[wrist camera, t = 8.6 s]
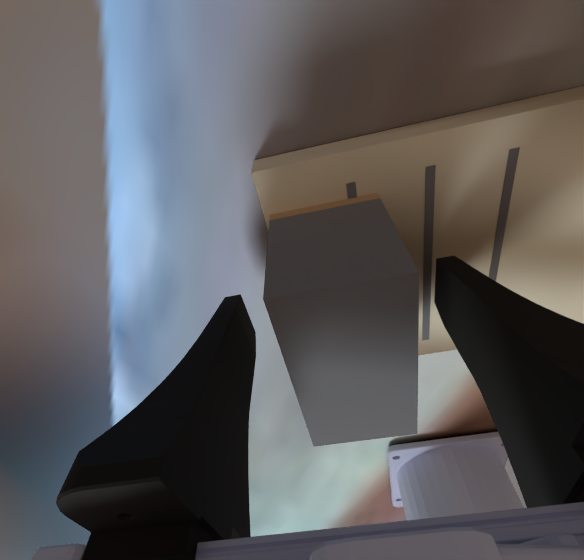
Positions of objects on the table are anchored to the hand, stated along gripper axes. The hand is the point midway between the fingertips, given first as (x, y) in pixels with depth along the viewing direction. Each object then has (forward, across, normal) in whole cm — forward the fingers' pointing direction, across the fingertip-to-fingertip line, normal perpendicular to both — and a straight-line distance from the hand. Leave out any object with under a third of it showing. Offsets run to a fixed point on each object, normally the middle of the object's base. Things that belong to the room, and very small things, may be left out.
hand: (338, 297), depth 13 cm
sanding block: (+1, 0, 0) cm, 1 cm away
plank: (+2, -4, 0) cm, 5 cm away
